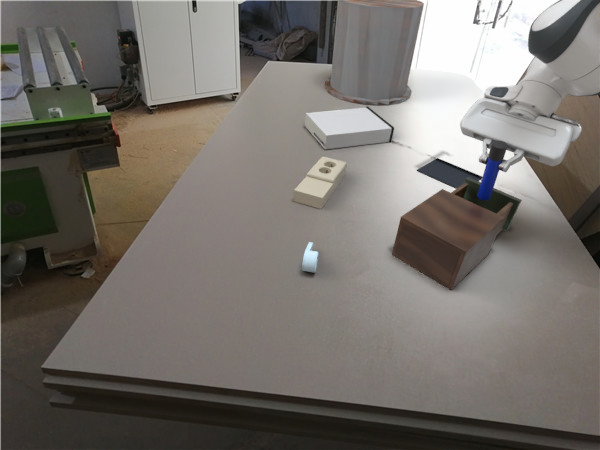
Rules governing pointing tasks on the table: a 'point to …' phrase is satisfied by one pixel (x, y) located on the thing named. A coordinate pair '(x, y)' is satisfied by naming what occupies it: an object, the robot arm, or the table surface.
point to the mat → (447, 173)
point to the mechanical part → (310, 259)
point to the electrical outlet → (320, 182)
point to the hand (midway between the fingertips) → (491, 166)
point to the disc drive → (348, 127)
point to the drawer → (490, 201)
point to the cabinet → (446, 237)
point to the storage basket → (374, 50)
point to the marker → (492, 169)
